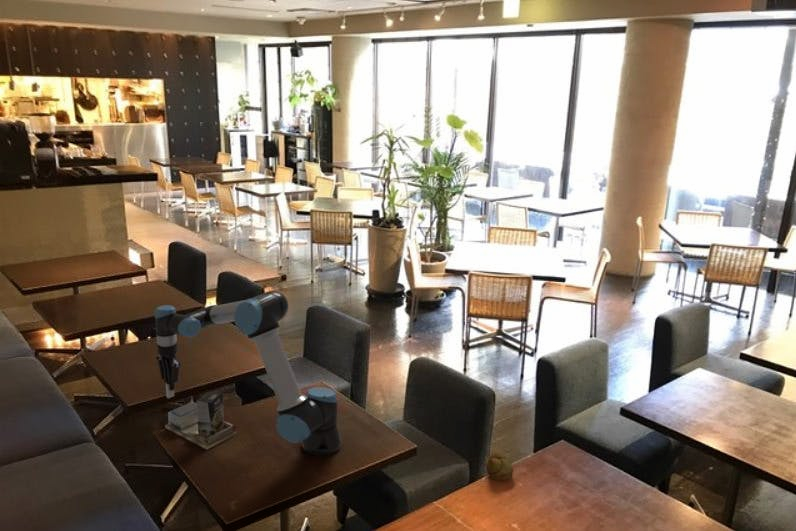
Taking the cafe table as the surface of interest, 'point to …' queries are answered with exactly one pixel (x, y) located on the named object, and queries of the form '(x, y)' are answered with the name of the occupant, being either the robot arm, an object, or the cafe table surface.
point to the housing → (183, 416)
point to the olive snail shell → (499, 466)
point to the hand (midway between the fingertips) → (170, 396)
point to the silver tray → (206, 443)
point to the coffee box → (210, 414)
